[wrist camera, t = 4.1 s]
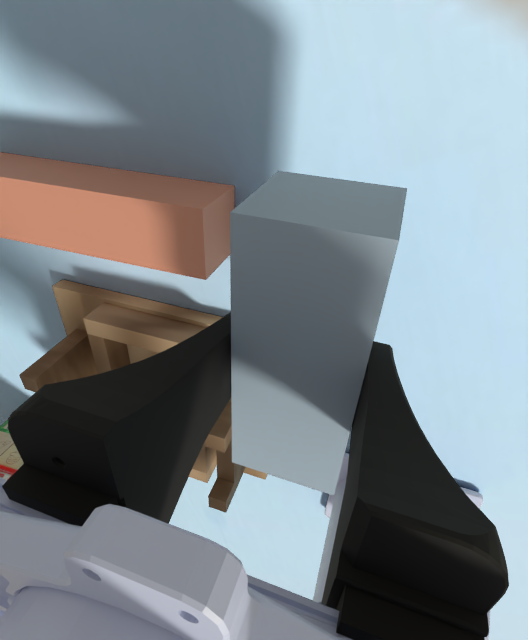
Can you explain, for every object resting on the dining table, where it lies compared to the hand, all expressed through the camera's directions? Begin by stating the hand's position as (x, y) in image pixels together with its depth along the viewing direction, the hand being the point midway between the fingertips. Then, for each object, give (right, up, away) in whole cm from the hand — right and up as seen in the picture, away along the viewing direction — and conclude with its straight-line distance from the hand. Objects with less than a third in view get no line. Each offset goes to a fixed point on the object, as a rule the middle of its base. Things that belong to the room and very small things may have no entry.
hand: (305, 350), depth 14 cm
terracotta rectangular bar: (-10, +8, +10) cm, 16 cm away
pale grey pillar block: (+1, +1, +2) cm, 2 cm away
